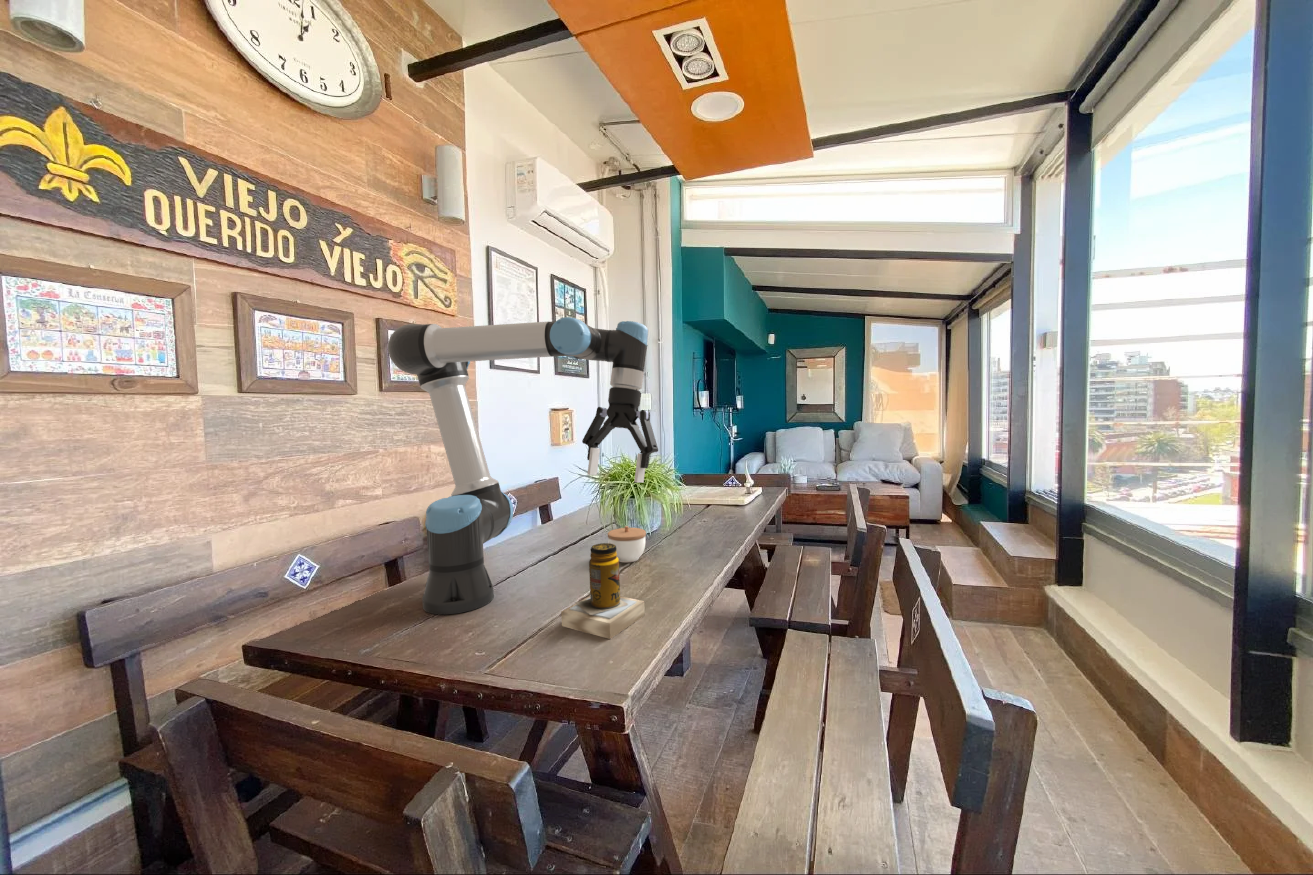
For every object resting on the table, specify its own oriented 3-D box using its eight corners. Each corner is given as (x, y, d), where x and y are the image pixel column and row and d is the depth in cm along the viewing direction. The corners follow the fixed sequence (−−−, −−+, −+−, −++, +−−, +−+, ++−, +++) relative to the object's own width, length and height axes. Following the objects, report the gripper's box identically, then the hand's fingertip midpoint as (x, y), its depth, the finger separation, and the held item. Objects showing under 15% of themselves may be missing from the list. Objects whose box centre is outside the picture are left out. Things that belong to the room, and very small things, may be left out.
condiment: (628, 605, 104) (626, 546, 103) (590, 615, 99) (588, 554, 98) (611, 594, 110) (608, 539, 109) (574, 604, 105) (572, 546, 104)
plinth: (561, 626, 103) (561, 610, 102) (598, 604, 113) (598, 590, 113) (610, 638, 96) (609, 621, 96) (645, 615, 107) (644, 599, 106)
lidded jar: (654, 556, 147) (652, 524, 146) (632, 567, 138) (631, 532, 137) (623, 551, 152) (622, 520, 152) (600, 561, 143) (599, 528, 143)
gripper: (679, 393, 118) (668, 485, 117) (594, 389, 131) (583, 472, 130) (662, 388, 111) (651, 485, 111) (574, 384, 124) (563, 471, 124)
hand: (614, 478), depth 121 cm, fingers open, 13 cm apart
